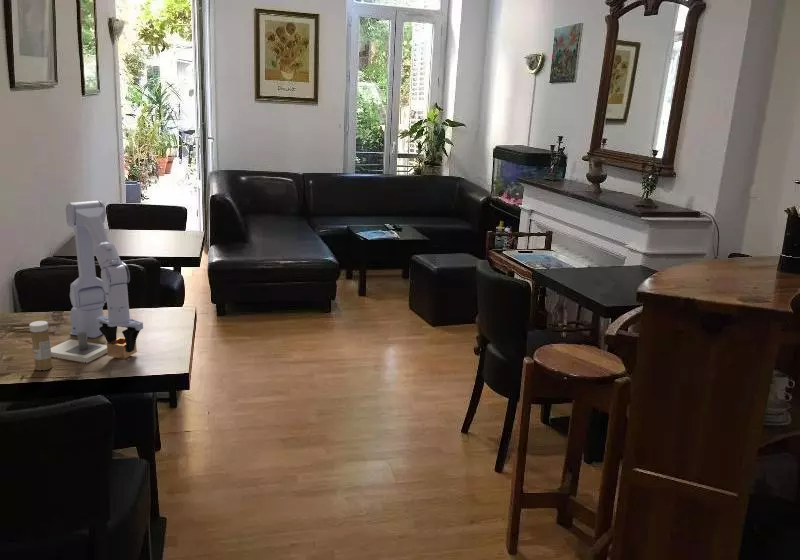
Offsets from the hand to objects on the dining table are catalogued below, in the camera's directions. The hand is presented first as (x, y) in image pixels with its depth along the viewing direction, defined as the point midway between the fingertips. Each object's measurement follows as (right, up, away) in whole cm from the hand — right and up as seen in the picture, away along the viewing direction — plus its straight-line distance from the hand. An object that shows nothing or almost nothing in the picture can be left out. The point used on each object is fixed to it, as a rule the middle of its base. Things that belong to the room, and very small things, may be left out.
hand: (122, 349), depth 193 cm
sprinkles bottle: (-18, -4, -8) cm, 21 cm away
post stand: (-14, -1, +3) cm, 14 cm away
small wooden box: (0, -1, 0) cm, 1 cm away
